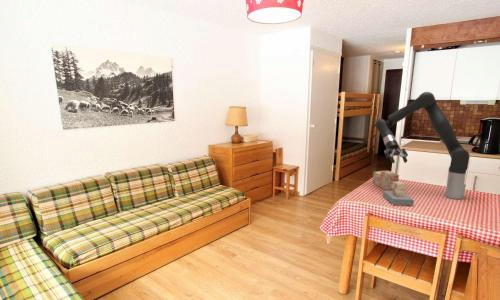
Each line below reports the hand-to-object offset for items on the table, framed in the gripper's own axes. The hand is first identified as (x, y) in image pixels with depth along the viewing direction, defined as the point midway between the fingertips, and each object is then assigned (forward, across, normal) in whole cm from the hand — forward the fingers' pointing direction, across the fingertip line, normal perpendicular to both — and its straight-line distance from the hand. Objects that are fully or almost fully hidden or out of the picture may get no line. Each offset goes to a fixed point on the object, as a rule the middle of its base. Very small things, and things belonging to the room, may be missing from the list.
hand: (399, 162), depth 182 cm
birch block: (+20, -6, +7) cm, 22 cm away
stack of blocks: (+3, +2, +30) cm, 31 cm away
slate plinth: (+23, -6, +10) cm, 26 cm away
